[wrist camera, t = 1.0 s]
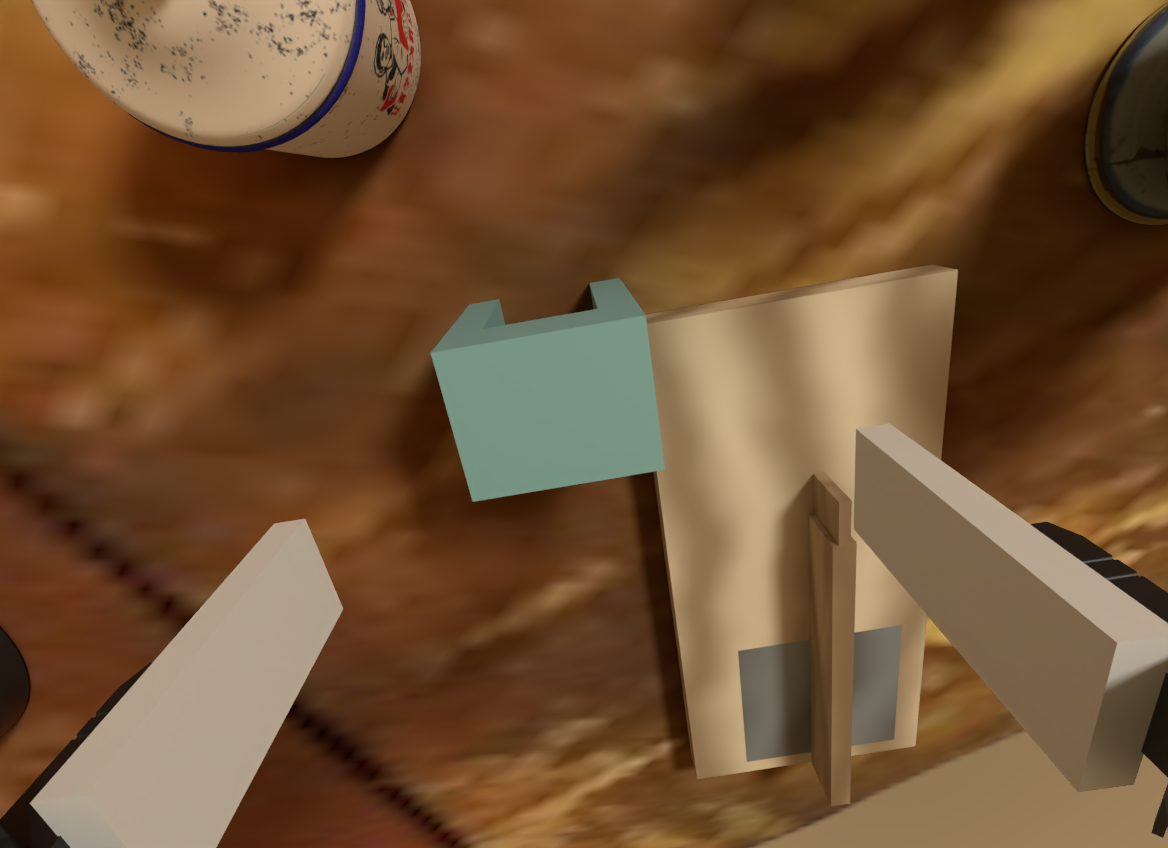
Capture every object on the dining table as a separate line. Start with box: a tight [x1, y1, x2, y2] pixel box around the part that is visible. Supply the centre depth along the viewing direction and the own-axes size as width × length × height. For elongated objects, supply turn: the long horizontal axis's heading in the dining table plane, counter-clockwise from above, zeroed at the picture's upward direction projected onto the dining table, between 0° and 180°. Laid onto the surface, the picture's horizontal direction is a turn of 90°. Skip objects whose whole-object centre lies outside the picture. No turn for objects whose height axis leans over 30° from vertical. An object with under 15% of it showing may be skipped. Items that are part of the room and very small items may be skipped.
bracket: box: [431, 278, 665, 502], centre depth 25 cm, size 8×6×9 cm
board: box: [646, 265, 958, 806], centre depth 32 cm, size 15×32×5 cm, turn 10°
